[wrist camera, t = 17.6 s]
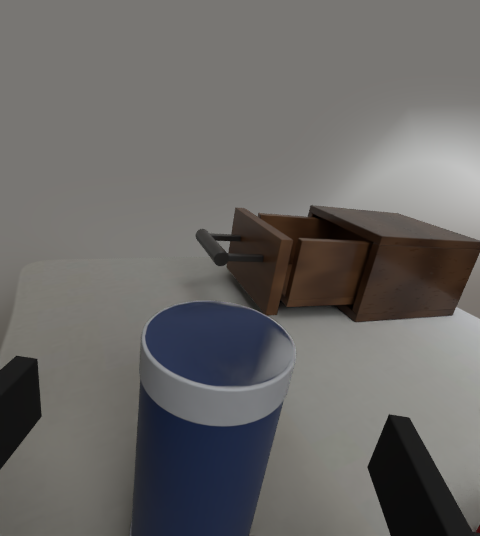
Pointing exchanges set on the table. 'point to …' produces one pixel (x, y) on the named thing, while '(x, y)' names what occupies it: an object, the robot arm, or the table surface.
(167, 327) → the blue cylindrical container
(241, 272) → the drawer
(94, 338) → the table surface
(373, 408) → the table surface
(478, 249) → the cabinet
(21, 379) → the robot arm
